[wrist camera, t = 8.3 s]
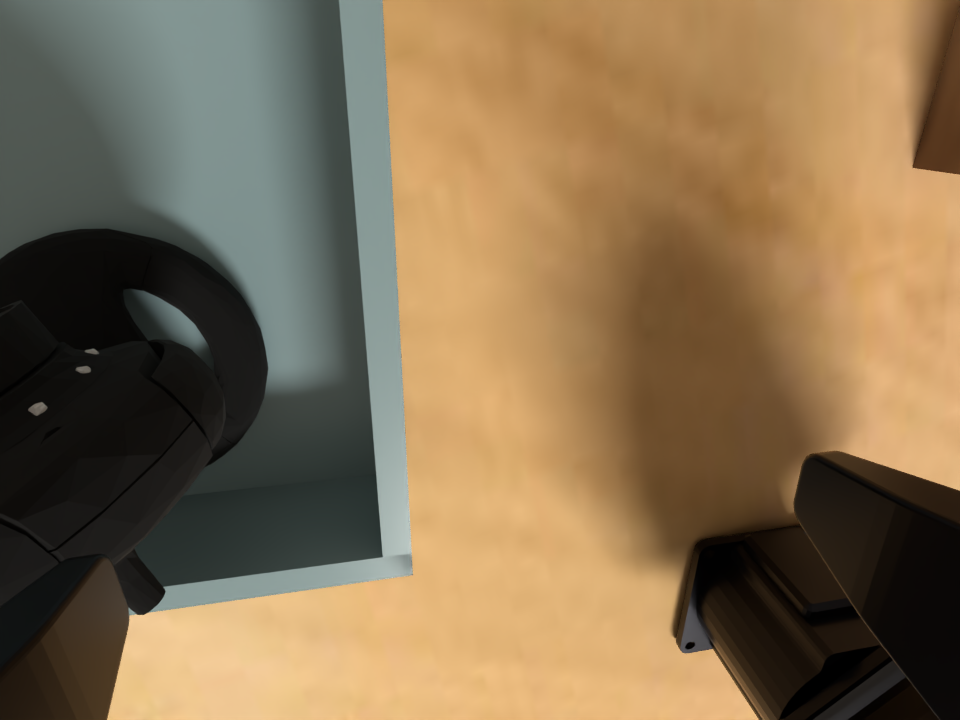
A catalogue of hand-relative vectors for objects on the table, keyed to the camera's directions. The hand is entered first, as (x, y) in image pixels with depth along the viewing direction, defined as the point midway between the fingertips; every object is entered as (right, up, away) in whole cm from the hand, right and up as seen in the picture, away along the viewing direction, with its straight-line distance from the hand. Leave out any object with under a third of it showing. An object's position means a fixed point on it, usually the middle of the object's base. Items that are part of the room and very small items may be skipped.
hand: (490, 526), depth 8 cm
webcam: (-10, +2, +9) cm, 14 cm away
